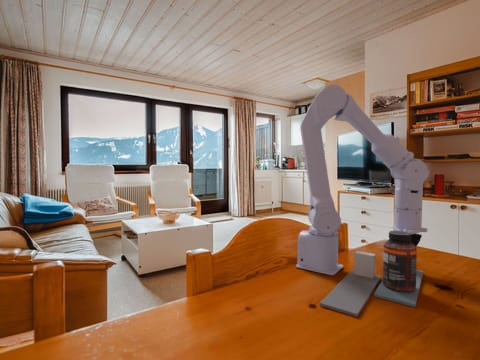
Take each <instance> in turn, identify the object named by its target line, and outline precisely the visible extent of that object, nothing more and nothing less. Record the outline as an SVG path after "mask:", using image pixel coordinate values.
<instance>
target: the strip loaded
mask: <svg viewBox="0 0 480 360" xmlns="http://www.w3.org/2000/svg"><path fill="white" fill-rule="evenodd" d="M423 276H424V271H423V270H418V269H416V289H415V290H414V291H412V292H400V291H395V290H392V289H390V288H388V287H386V286H385V285H384V284H383V279H382V280H380V283H379V284H378V285H377V286H378V287H377V288H376V290H374V293H373V297H375V298H378V299H381V300H386V301H389V302H394V303H397V304H401V305H406V306H409V307H414V308H416V306H417V302H418V297H419V293H420V288H421V284H422V279H423Z"/></svg>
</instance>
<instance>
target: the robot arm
mask: <svg viewBox="0 0 480 360" xmlns="http://www.w3.org/2000/svg"><path fill="white" fill-rule="evenodd" d="M334 116H335V118H334V121H339V122H346V123H349V125H350V126H352V127H353V128H354V129H355V130H356V131H357V132H359V134H361V135H362V136H363V137H364V138H365V139H366V140H367V141H368V142H369V143H371V144H370V145H371V149H370V150H371V153H373V154H374V155H375V156H376V157H377V158H378V159H379V160H380V161H381V163H383V164H384V165H385V166H386V167H387V169H388V170H390V175H391V177H392V178H393V179H395V180H394V181H395V183H394V208H393V209H394V210H393V213H394V214H393V224H392V230H393V231H404V232H409V233H411V242H412V244H414V245H415V246H416V247H417V246H418V245H419V243H420V242H421V239H422V237H423V235H422V234H421V233H427V232H428V228H427V227H423V226H422V223H423V221H422V219H423V195H424V194H423V193H424V191H423V189H424V182H425V180H427V178H428V177H429V176H430V170H429V169H428V168H427V165H426V163H425V162H424V161H423V160H422V159H419V158H415V154H414V153H413V151H409V150H408V149H407V148H406V147H405V146H404V145H403V144H402V143H401V142H400V141H401V139H400V137H399V136H397V135H396V136H394V135H393V134H390V133H389V134H388V133H387V134H385V133H383V132H382V131H381V130H380V128H379V127H378V126H377V124H375V123H374V122H373V120H372V119H371V118H370V117H369V116H368V115H367V114H366V112H365V111H364V110H363V109H362V108H361V107H360V106H359V104H357V102H356V100H355V98H354V97H353V96H352V95H351V94H349V93H347V92H346V90H345V89H344V88H343V87H342V86H340V85H338V84H329V85H327V86H324V87H323V88H322V89H321V90H320V91H319V92H318V93H317V95H315V96H314V98H313V100H312V102H311V104H310V105H309V107H308V109H307V111H306V113H305V115H304V117H303V119H302V121H301V123H300V128H299V130H300V135H301V142H302V149H303V156H304V160H305V161H304V162H305V168H306V169H305V170H306V175H307V183H308V188H309V195H310V196H309V205H310V207H309V211H308V213H307V214H308V220H309V223H310V224H311V225H310V226H309V228H308V230H306V229H305V230H304V229H303V230H301V231H300V232H299V234H298V238H297V251H296V252H297V255H296V256H297V257H296V258H297V260H296V261H297V262H296V263H297V264H295V267H296V268H298V269H302V270H307V271H311V272H315V273H319V274H324V275H328V276H335V275H336V274H337V273H338V272H340V270H341V269H342V268H344V264H340V263H339V262H338V261H339V233H340V232H339V229H340V228H341V225H342V219H341V216H340V214H339V213H338V210H336V206H335V201H334V199H333V196H332V194H331V189H330V181H329V173H328V168H327V162H326V155H325V149H324V148H325V147H324V141H323V134H322V129H323V128H324V126H325V125H326V123H327V122H328V121H329V120H331V119H332V118H333V117H334Z"/></svg>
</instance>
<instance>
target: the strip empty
mask: <svg viewBox="0 0 480 360" xmlns="http://www.w3.org/2000/svg"><path fill="white" fill-rule="evenodd" d="M353 264H354V266H353V267H354V268H353V269H351V270H350V271H349V272H348V273H347V274H346V275H345V276H344V277H343V278H342V279H341V280H340V281H339V282H338V283H337V285H335V286H334V288H332V290H330V292H329V293H327V294H326V295H325V297H324V298H322V300H320V302H319V306H320V307H324V308H327V309H330V310H333V311H337V312H339V313H343V314H347V315H350V316H353V317H357V318H358V316H359V315H360V314H361V312H362V310H363V309H364V307H365V306H366V304H367V302H368V300H369V299H370V297H371V295H372V294H373V292H375V289H377V288H376V287H377V286H378V285H379V284H380V283H379V282H381V279H382V276H381V275H376V253H372V252H366V251H360V250H356V251H355V252H354V263H353Z"/></svg>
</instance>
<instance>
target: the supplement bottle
mask: <svg viewBox="0 0 480 360" xmlns="http://www.w3.org/2000/svg"><path fill="white" fill-rule="evenodd" d="M388 238H389V239H387V240H386V241H384V243H383V251H382V252H383V255H382V257H383V258H382V260H383V263H382V280H383V284H384V285H385V286H386V287H388V288H390V289H392V290H395V291H400V292H412V291H414V290H415V289H416V270H417V257H418V256H417V255H418V253H417V251H418V250H417V246H415V245H414V244H412V242H411V233H409V232H404V231H395V230H389V232H388Z"/></svg>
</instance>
